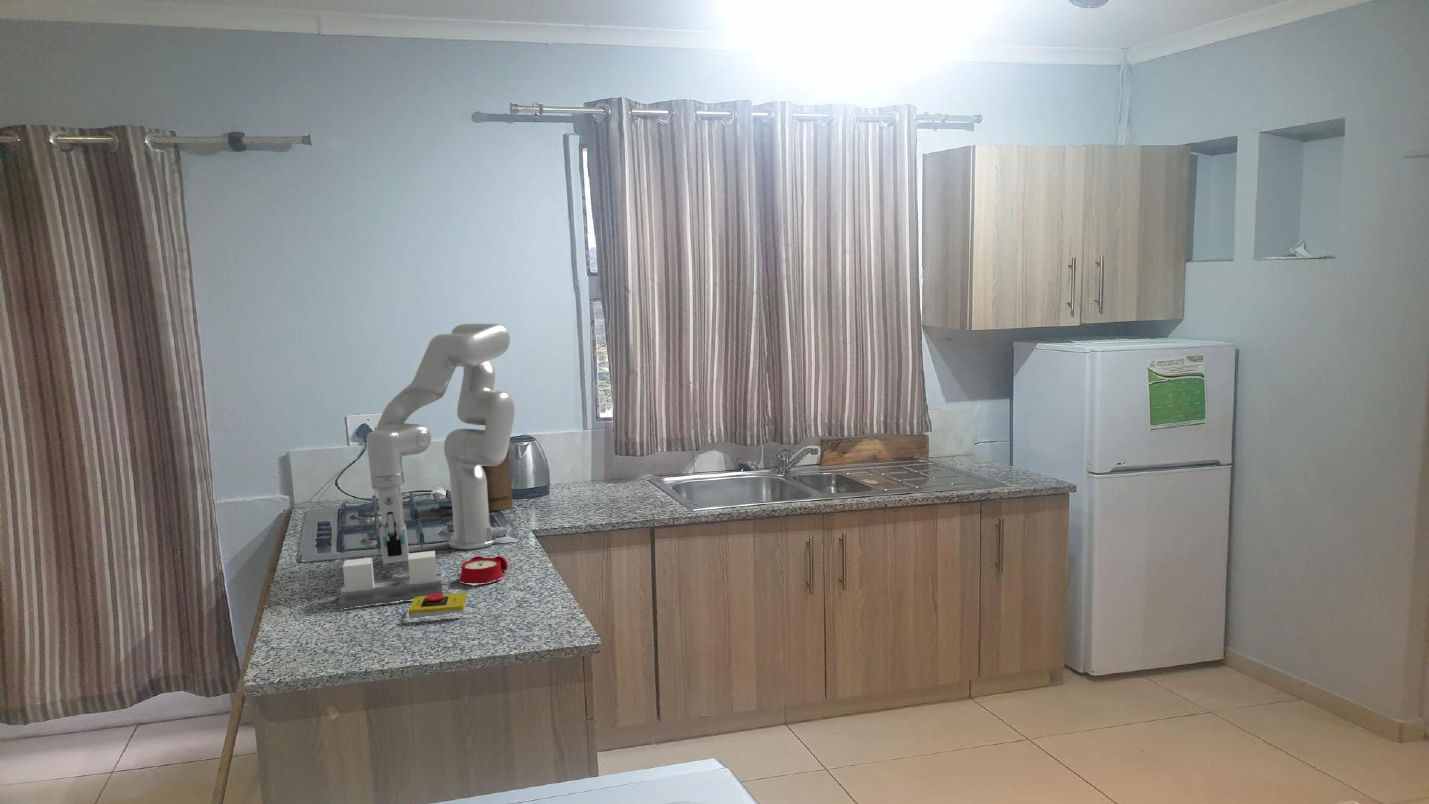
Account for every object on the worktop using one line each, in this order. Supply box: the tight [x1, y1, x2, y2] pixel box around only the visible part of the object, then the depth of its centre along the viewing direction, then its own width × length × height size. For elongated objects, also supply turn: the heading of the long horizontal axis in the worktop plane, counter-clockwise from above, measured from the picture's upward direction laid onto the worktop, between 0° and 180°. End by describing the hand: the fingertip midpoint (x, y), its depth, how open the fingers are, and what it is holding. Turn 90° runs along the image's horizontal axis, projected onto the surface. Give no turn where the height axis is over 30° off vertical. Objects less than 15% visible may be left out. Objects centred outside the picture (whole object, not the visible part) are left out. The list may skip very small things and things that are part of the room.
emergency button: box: [408, 592, 468, 618], centre depth 210 cm, size 9×4×15 cm
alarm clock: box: [456, 555, 509, 583], centre depth 234 cm, size 10×6×15 cm
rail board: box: [339, 572, 444, 610], centre depth 224 cm, size 22×14×2 cm, turn 107°
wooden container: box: [482, 450, 513, 513], centre depth 303 cm, size 15×15×22 cm
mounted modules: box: [342, 550, 438, 592], centre depth 223 cm, size 20×5×6 cm, turn 107°
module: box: [379, 523, 410, 565], centre depth 238 cm, size 6×5×8 cm
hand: (395, 551), depth 238 cm, fingers closed on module, 5 cm apart
